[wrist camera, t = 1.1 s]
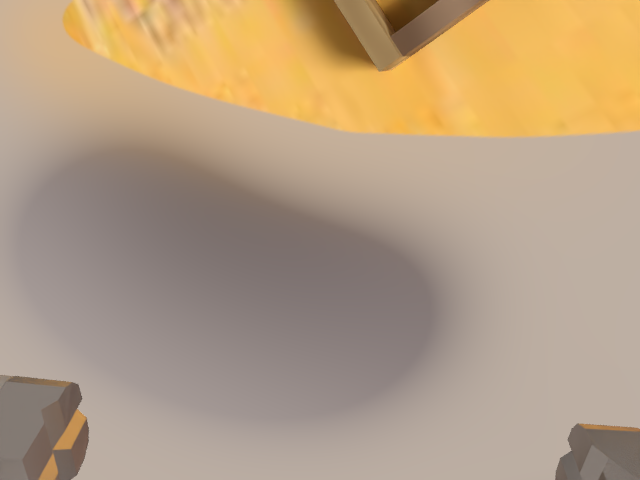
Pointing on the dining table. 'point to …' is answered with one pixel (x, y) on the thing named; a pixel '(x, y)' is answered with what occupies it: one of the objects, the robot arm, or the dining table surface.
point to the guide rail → (415, 35)
